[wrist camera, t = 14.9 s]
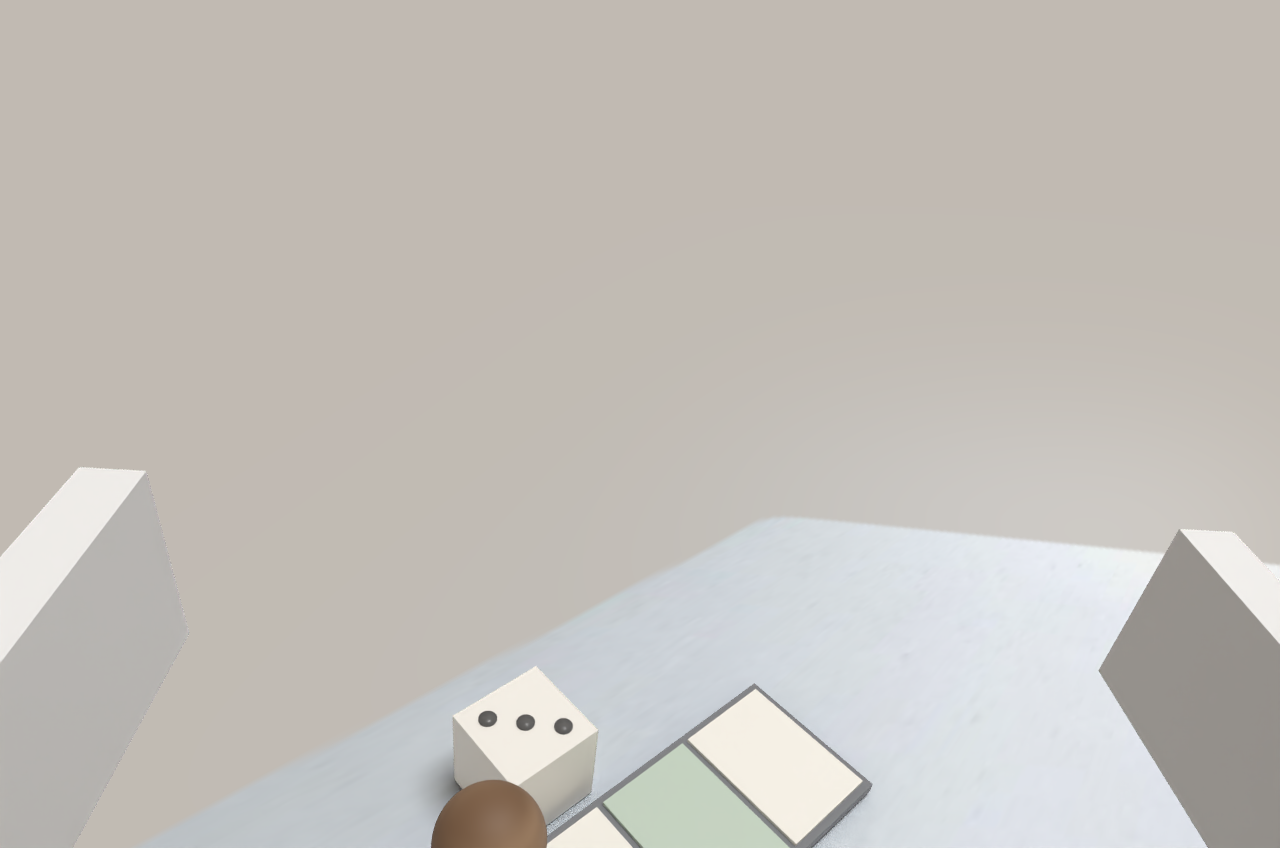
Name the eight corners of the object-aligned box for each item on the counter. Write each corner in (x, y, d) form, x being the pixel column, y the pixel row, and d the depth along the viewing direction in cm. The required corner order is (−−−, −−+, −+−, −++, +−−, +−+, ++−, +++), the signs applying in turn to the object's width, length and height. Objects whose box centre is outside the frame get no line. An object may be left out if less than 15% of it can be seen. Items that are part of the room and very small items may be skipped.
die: (592, 791, 44) (599, 728, 41) (511, 851, 41) (513, 787, 38) (533, 727, 47) (537, 664, 44) (454, 779, 44) (452, 715, 41)
